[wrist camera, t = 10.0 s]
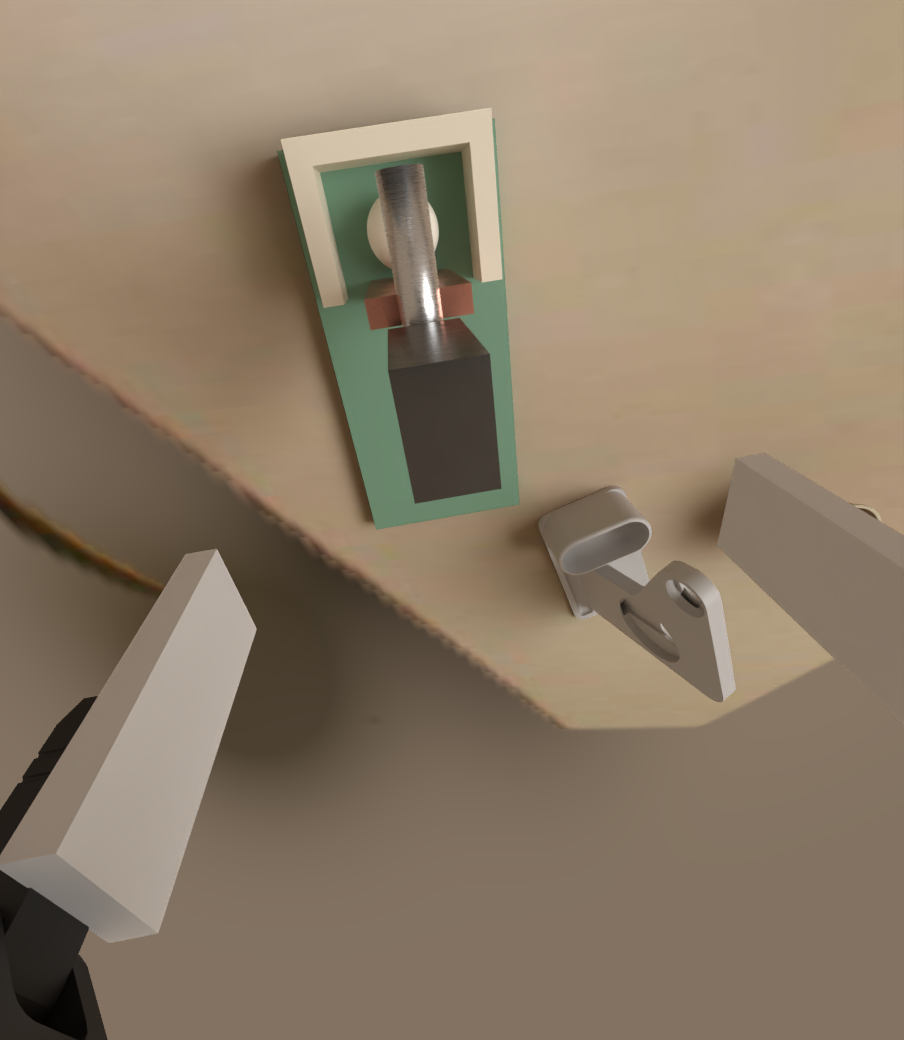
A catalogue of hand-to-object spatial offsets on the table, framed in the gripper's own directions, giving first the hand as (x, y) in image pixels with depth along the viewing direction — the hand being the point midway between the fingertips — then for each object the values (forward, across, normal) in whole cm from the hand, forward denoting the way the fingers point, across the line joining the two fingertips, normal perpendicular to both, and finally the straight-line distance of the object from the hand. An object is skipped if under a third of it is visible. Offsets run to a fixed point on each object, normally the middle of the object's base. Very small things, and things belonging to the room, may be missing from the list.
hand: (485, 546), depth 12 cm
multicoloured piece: (+31, 0, +3) cm, 31 cm away
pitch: (+33, 0, -3) cm, 33 cm away
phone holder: (+33, +17, -28) cm, 46 cm away
